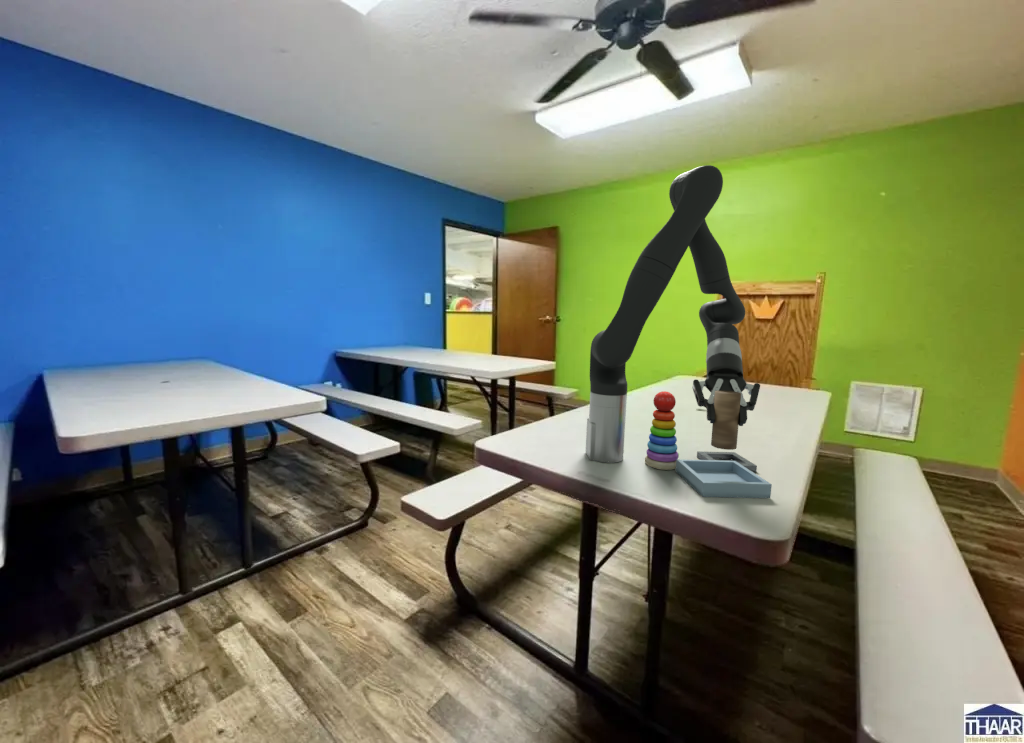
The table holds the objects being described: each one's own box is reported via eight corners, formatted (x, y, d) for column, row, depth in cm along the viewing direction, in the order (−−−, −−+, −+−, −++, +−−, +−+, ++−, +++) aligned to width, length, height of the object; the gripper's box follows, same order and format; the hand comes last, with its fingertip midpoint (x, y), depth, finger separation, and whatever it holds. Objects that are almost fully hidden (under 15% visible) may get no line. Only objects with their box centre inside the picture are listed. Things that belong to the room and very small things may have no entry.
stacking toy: (651, 457, 107) (656, 387, 105) (682, 464, 102) (688, 391, 100) (639, 465, 101) (644, 391, 99) (672, 473, 96) (678, 395, 94)
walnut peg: (717, 449, 87) (722, 394, 86) (706, 442, 92) (710, 390, 91) (741, 449, 87) (746, 394, 86) (729, 442, 92) (733, 390, 91)
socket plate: (715, 470, 99) (715, 464, 99) (696, 456, 109) (697, 451, 109) (756, 471, 99) (756, 465, 99) (734, 457, 109) (734, 452, 109)
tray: (702, 496, 84) (703, 482, 84) (675, 471, 98) (676, 459, 97) (770, 498, 84) (771, 484, 84) (733, 472, 98) (734, 460, 97)
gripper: (692, 350, 97) (692, 410, 87) (761, 352, 92) (769, 416, 82) (689, 369, 102) (689, 428, 93) (755, 373, 97) (761, 435, 88)
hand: (727, 422), depth 87 cm, fingers closed on walnut peg, 5 cm apart
